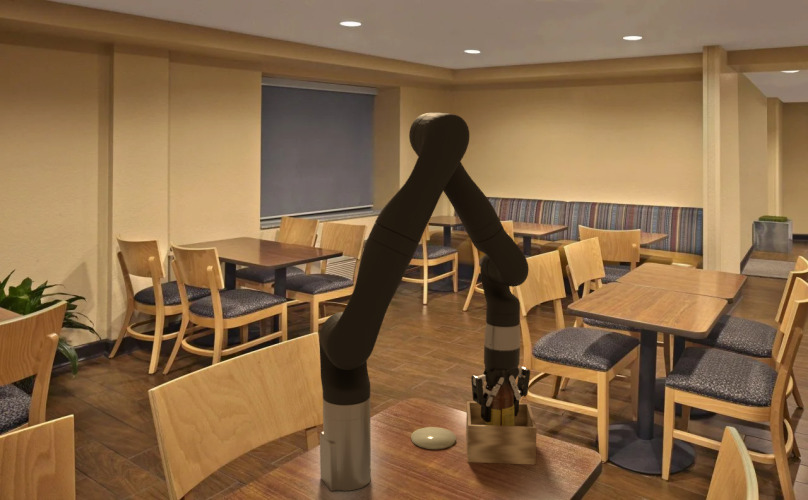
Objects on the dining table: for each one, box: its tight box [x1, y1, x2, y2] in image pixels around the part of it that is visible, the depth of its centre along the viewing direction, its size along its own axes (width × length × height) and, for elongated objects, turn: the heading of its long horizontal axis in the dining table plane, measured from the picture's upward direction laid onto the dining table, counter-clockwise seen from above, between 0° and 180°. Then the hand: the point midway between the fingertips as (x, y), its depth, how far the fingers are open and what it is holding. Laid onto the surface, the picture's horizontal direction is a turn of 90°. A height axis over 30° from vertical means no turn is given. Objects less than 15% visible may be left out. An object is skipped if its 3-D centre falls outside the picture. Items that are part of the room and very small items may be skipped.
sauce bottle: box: [485, 370, 514, 426], centre depth 140 cm, size 7×6×20 cm
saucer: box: [410, 426, 457, 450], centre depth 146 cm, size 10×10×1 cm
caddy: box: [465, 400, 538, 465], centre depth 140 cm, size 14×13×8 cm
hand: (499, 417), depth 140 cm, fingers closed on sauce bottle, 6 cm apart
